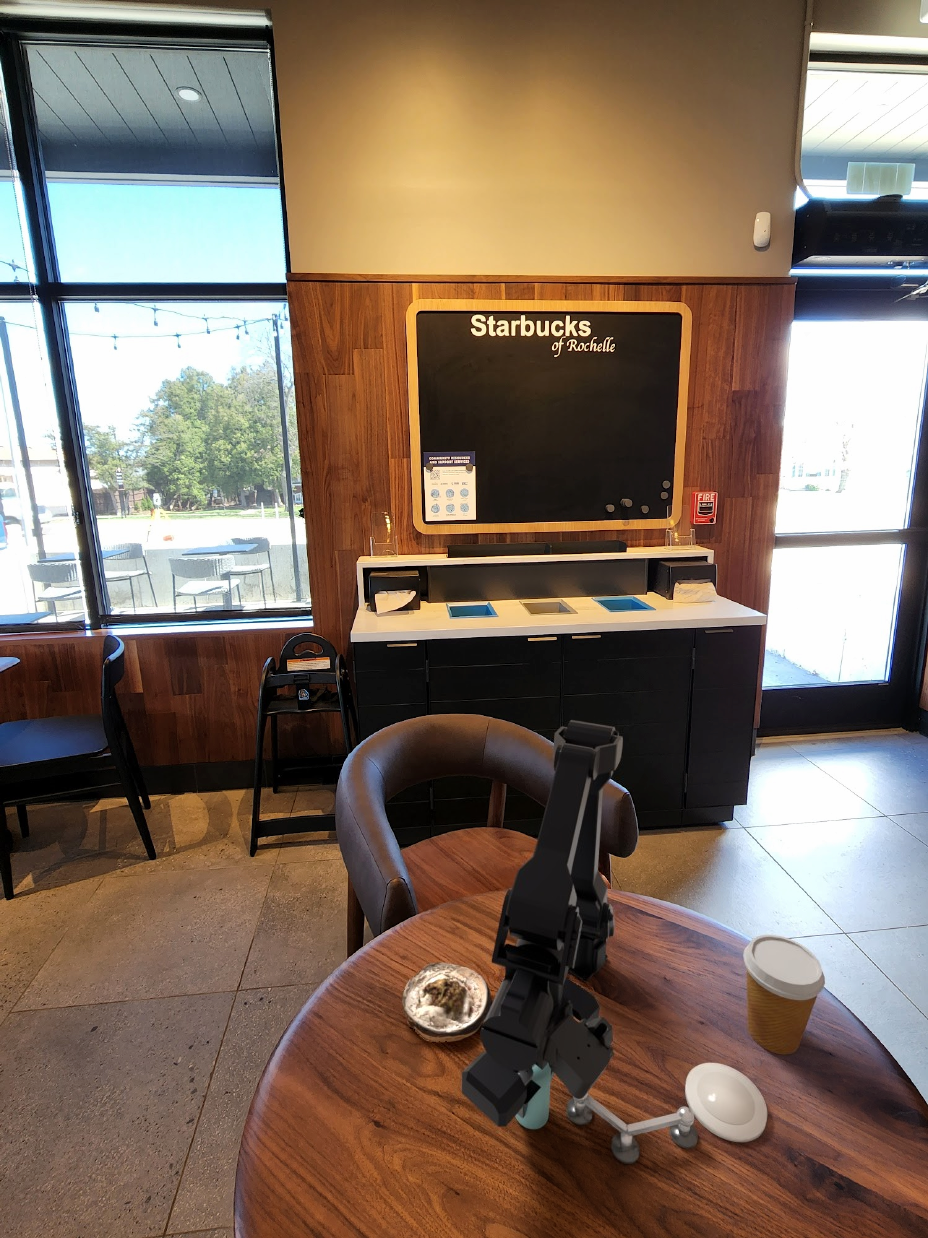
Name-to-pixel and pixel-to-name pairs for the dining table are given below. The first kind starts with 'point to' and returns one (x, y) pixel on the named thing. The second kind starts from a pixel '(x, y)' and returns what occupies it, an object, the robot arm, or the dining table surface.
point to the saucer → (726, 1102)
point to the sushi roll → (446, 1002)
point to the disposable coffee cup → (780, 991)
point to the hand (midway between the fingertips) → (531, 1101)
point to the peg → (538, 1100)
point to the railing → (634, 1127)
